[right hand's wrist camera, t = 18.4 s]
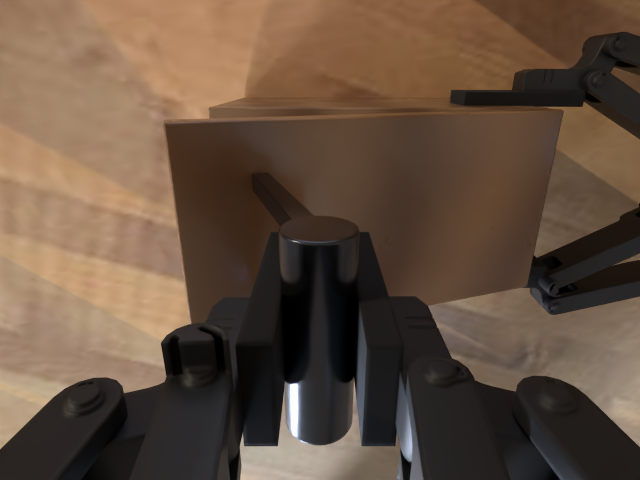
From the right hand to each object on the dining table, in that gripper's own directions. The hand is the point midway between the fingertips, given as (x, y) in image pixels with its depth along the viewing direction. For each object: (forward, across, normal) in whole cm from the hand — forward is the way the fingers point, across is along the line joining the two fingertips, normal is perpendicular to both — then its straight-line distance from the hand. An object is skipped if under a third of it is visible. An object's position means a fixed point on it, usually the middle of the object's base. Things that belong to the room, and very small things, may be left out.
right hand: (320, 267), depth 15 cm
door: (+6, -3, 0) cm, 6 cm away
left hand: (+12, -8, 0) cm, 14 cm away
